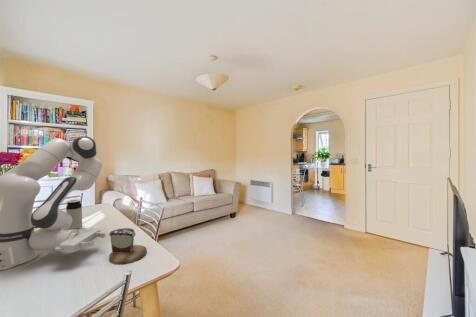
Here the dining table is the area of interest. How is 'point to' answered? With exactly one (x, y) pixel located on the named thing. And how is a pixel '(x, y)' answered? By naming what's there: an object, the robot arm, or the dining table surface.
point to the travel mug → (75, 213)
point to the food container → (122, 240)
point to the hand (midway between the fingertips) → (99, 239)
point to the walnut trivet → (128, 255)
